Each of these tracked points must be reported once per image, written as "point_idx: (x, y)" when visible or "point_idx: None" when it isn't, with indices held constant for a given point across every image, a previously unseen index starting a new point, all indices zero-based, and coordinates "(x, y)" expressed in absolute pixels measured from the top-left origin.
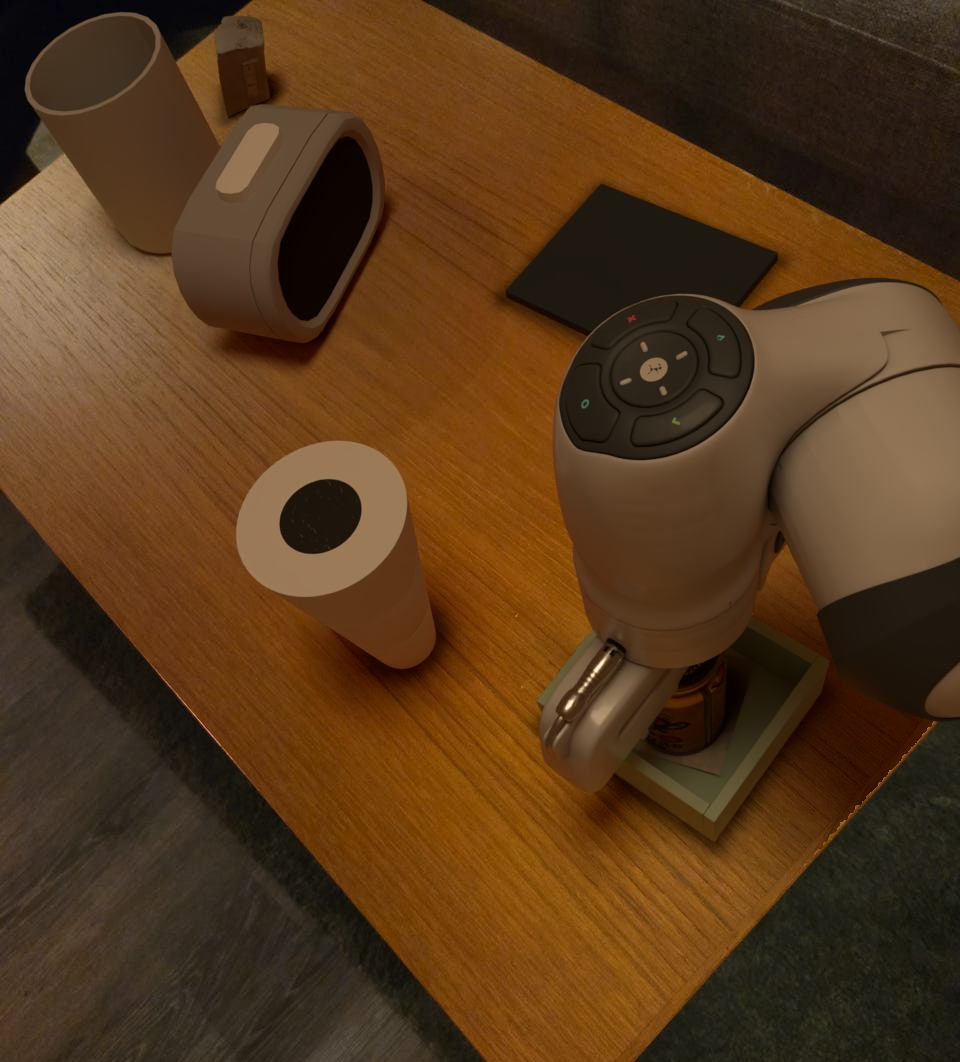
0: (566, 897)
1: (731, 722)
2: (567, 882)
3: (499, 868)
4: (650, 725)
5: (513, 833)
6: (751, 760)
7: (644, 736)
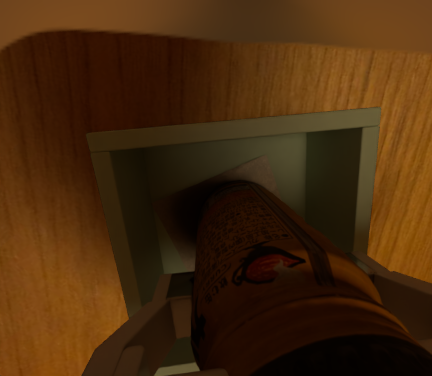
0: (419, 183)
1: (215, 180)
2: (408, 191)
3: (424, 236)
4: (361, 266)
5: (395, 247)
6: (282, 123)
7: (369, 258)
